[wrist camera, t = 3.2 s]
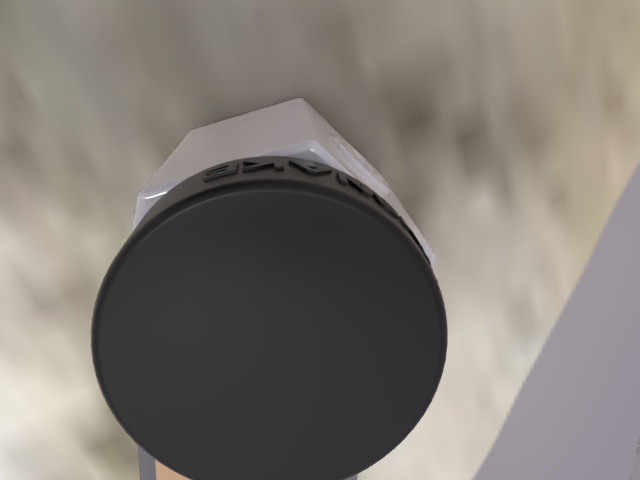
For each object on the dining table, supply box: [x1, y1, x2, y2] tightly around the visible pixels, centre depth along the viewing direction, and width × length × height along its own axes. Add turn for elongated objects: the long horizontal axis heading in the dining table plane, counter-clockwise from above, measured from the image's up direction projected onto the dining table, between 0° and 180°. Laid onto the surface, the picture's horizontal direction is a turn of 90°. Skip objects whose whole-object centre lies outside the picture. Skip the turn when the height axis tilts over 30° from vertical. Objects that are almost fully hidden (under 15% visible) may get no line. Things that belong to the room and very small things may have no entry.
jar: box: [91, 98, 447, 480], centre depth 19 cm, size 9×8×12 cm
